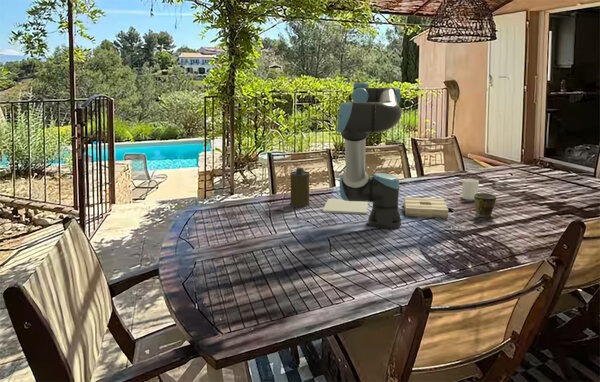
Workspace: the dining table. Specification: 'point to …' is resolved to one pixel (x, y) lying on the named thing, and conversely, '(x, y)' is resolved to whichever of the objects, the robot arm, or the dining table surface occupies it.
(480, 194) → the ceramic cup
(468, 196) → the cup
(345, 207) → the pad
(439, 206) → the block
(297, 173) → the canister
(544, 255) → the dining table surface
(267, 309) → the dining table surface
